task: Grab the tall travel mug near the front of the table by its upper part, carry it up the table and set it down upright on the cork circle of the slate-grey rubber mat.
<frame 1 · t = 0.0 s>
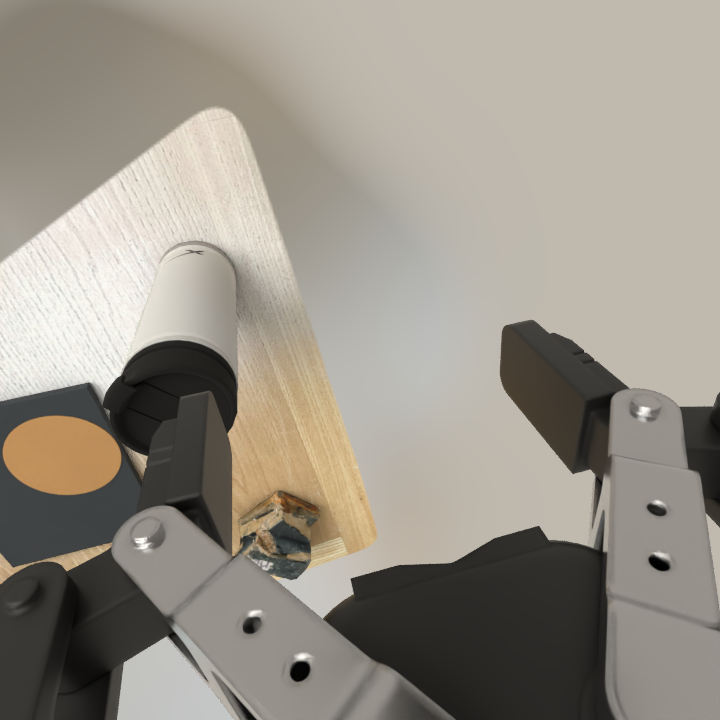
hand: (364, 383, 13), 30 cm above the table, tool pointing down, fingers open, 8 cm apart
mat: (48, 480, 48), on the table
rock: (276, 517, 59), on the table
travel mug: (196, 274, 41), on the table
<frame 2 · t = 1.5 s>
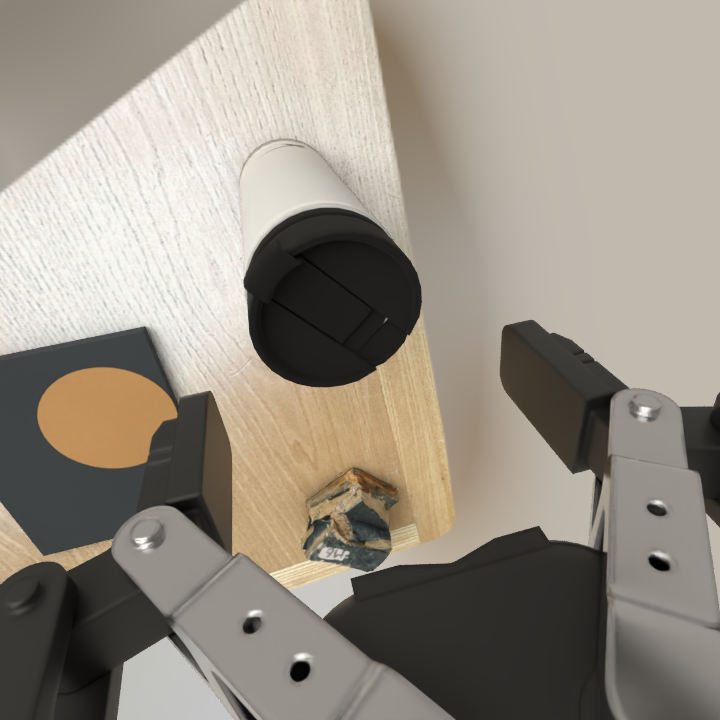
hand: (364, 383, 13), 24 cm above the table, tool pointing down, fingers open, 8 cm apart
mat: (90, 450, 40), on the table
rock: (346, 500, 50), on the table
travel mug: (284, 186, 33), on the table
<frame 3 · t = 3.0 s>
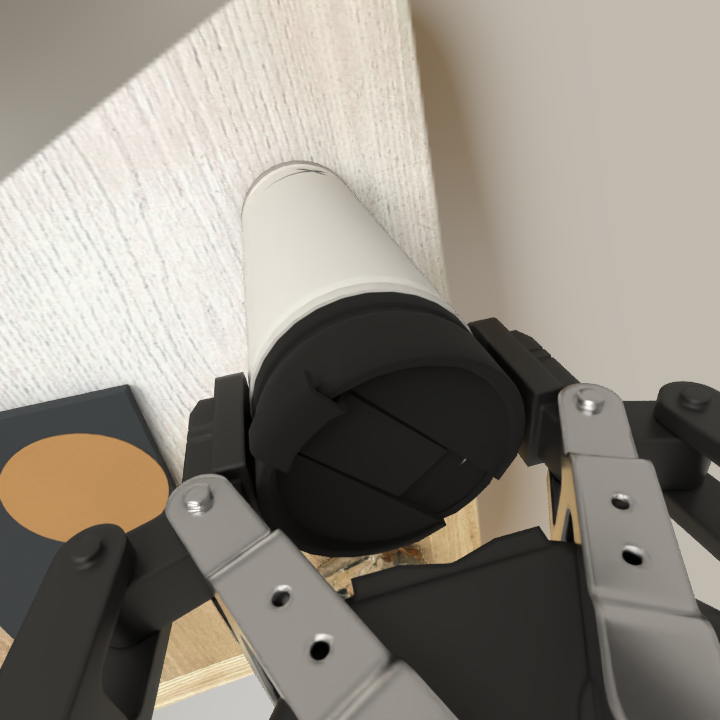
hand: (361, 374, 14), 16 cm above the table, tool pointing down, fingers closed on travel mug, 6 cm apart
mat: (64, 523, 34), on the table
rock: (362, 563, 44), on the table
travel mug: (296, 217, 27), on the table, touching gripper
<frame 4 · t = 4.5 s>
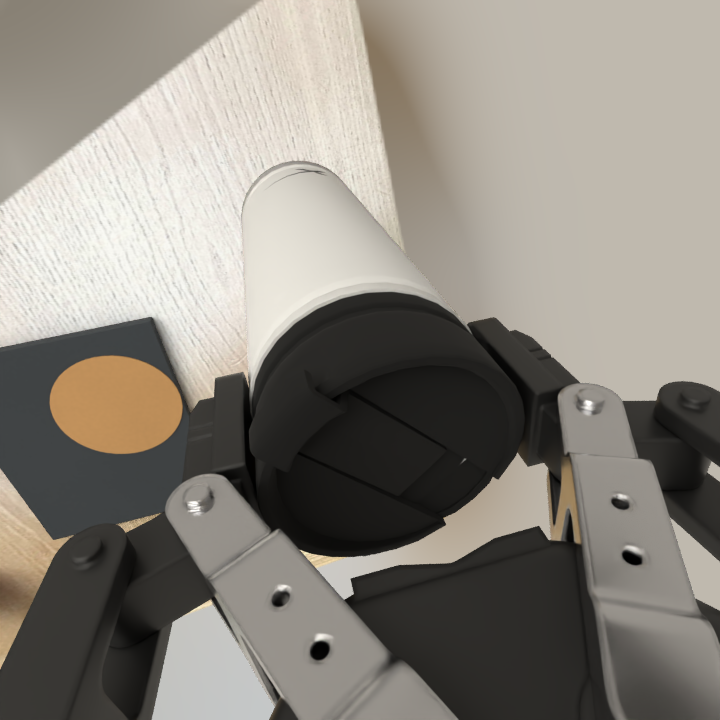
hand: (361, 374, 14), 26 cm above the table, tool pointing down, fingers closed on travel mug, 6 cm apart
mat: (98, 436, 42), on the table
travel mug: (296, 217, 27), point 10 cm above the table, touching gripper
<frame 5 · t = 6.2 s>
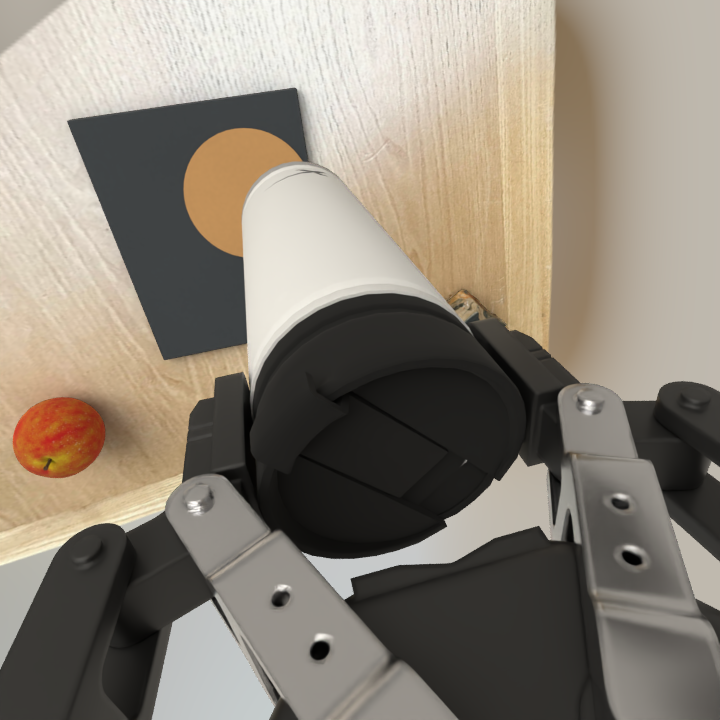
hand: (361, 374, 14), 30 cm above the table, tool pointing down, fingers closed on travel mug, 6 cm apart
mat: (222, 237, 40), on the table
fruit: (72, 411, 46), on the table
rock: (449, 331, 51), on the table
travel mug: (297, 218, 27), point 14 cm above the table, touching gripper
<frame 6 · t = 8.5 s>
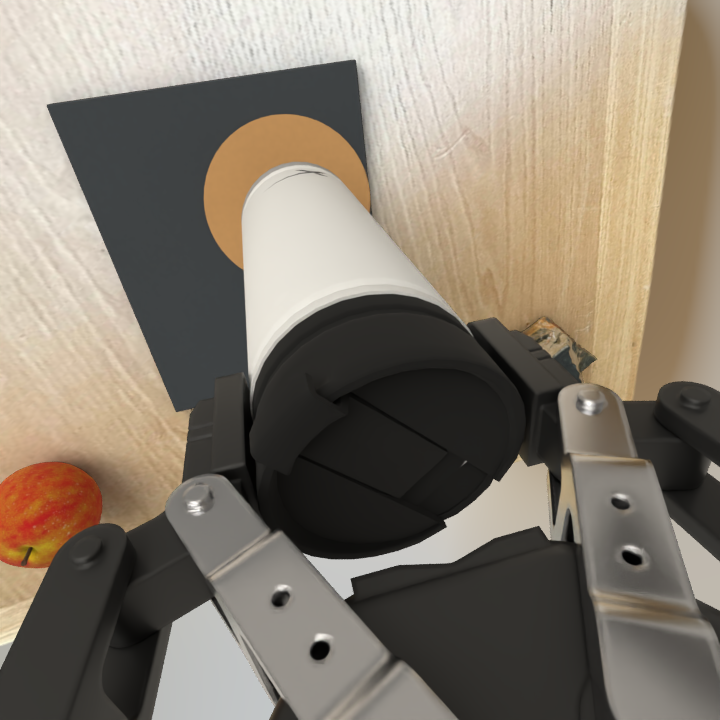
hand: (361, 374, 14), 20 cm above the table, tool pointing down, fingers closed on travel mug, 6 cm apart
mat: (252, 257, 31), on the table
fruit: (61, 475, 37), on the table
rock: (522, 365, 42), on the table
travel mug: (297, 218, 27), point 4 cm above the table, touching gripper
when the fingers open (17 cm above the table, at t = 10.0 s): travel mug stays where it is, resting on mat.
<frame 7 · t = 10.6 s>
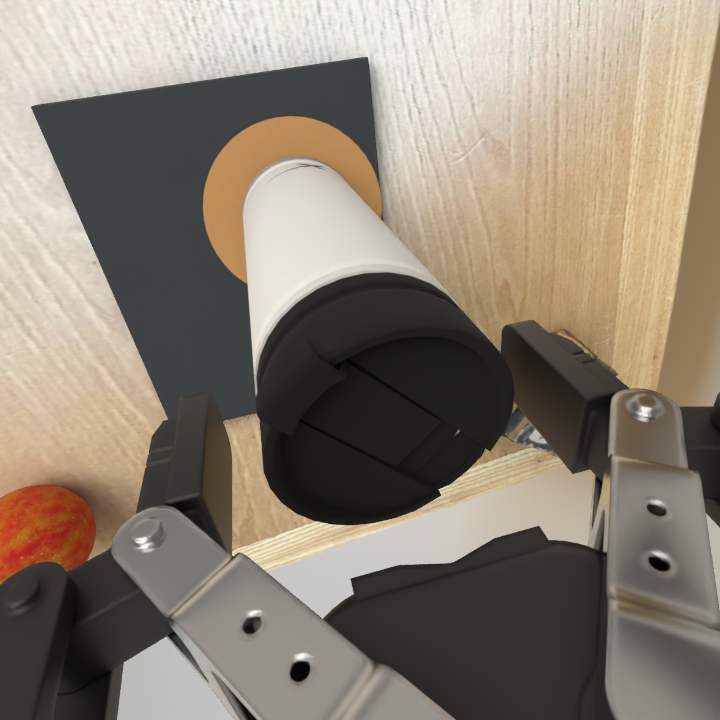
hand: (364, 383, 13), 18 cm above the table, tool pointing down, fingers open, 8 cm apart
mat: (255, 269, 29), on the table
fruit: (52, 497, 35), on the table
rock: (538, 380, 40), on the table
travel mug: (296, 211, 27), point 1 cm above the table, touching mat
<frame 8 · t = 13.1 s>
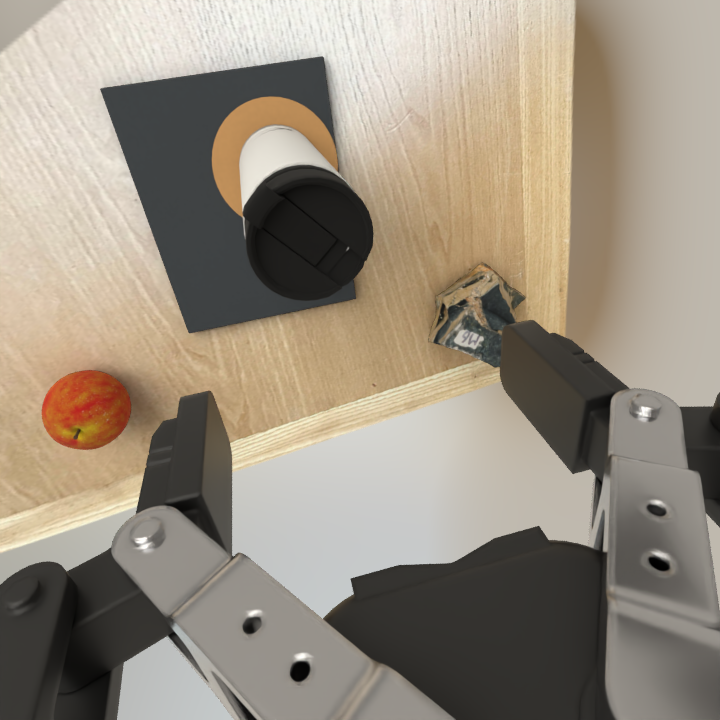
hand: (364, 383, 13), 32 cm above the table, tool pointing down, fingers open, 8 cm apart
mat: (248, 208, 41), on the table
fruit: (97, 386, 47), on the table
rock: (468, 306, 51), on the table
travel mug: (277, 164, 39), point 1 cm above the table, touching mat
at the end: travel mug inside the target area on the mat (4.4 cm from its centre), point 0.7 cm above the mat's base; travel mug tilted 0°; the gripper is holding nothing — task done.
